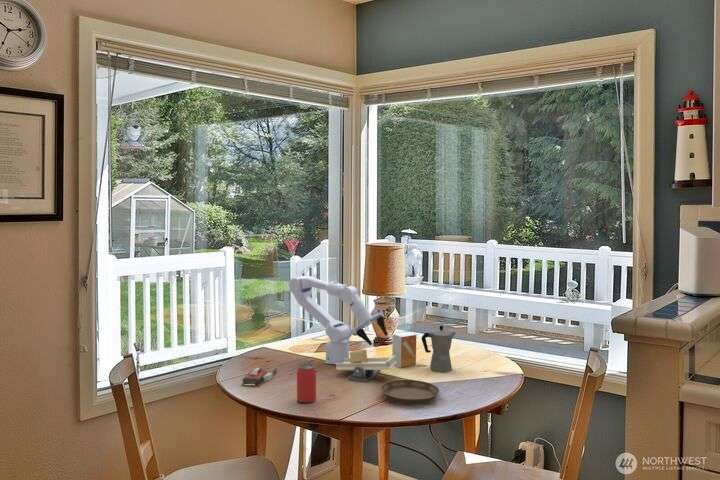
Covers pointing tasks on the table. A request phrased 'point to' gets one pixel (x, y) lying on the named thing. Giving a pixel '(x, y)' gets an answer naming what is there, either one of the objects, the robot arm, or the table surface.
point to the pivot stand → (362, 374)
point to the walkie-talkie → (258, 376)
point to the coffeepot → (439, 349)
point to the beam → (368, 364)
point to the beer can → (306, 383)
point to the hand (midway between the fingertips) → (378, 339)
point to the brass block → (358, 356)
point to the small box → (404, 349)
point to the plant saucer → (409, 391)
